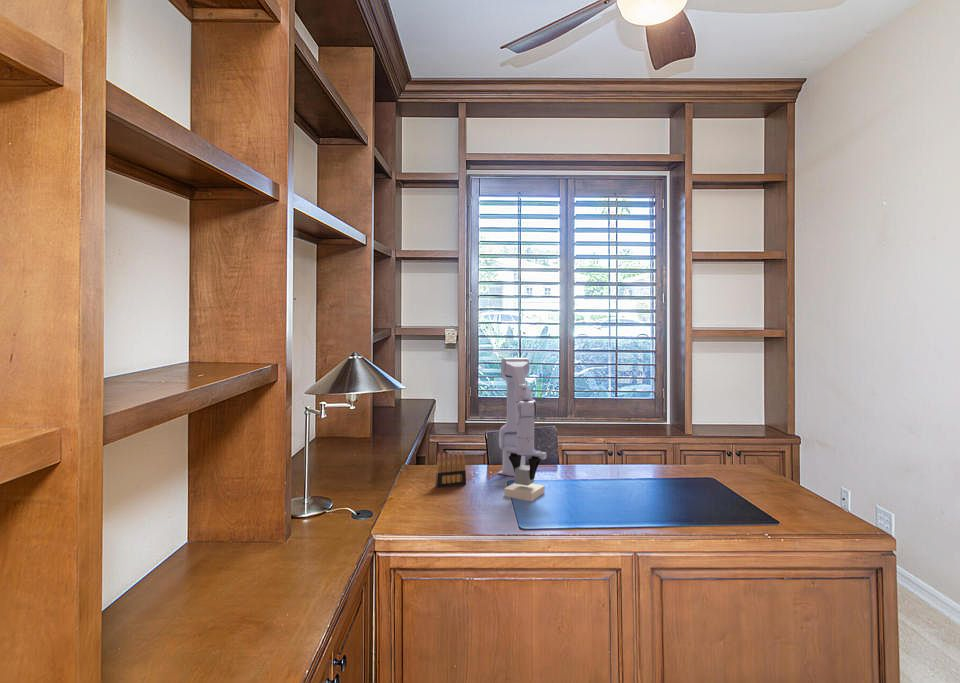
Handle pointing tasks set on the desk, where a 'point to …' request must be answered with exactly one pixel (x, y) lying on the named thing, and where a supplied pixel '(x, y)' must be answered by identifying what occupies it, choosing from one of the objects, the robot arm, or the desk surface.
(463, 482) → the ammunition clip
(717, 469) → the desk surface
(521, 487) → the cream block
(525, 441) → the robot arm
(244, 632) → the desk surface
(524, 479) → the grey cube
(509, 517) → the desk surface
